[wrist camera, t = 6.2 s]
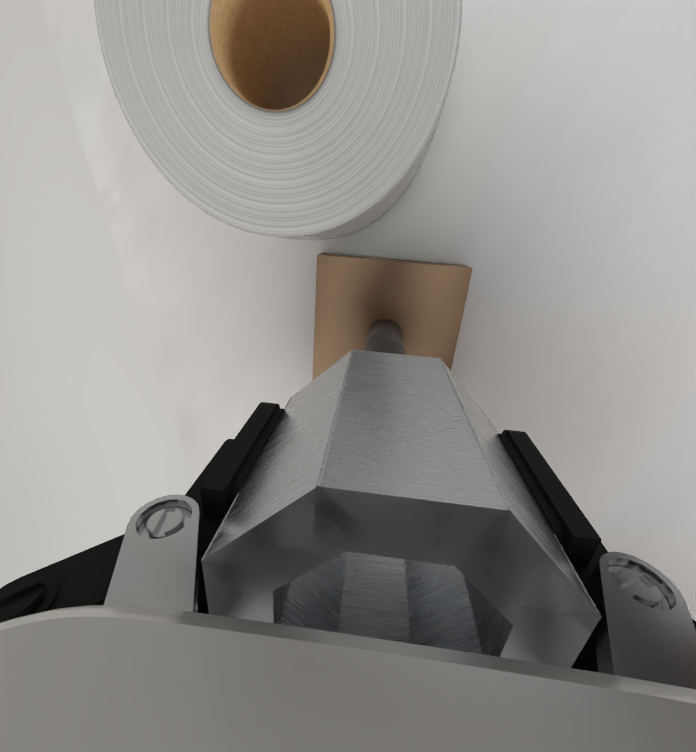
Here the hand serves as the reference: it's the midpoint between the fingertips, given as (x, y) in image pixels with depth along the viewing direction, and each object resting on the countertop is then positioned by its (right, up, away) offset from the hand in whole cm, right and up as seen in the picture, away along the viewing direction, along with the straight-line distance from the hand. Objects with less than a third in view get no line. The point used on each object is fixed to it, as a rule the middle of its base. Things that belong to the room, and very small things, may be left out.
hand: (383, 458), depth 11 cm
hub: (0, 0, +1) cm, 1 cm away
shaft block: (+2, +6, +15) cm, 16 cm away
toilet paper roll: (-2, +18, +11) cm, 21 cm away
